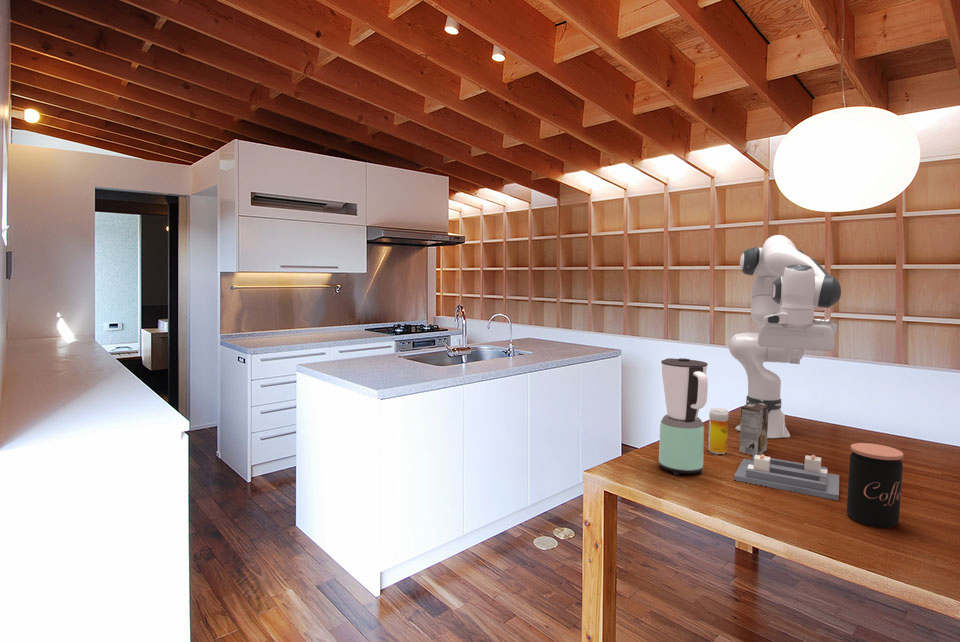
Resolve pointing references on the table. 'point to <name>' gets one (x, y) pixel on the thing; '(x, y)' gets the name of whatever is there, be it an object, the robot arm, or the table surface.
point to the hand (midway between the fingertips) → (794, 363)
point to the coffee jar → (874, 485)
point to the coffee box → (753, 428)
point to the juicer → (683, 415)
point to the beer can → (718, 430)
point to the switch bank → (790, 478)
